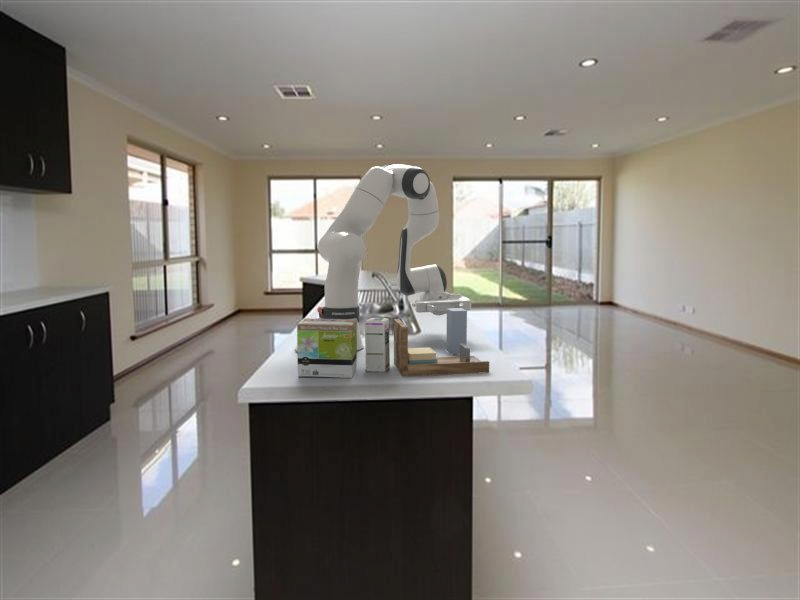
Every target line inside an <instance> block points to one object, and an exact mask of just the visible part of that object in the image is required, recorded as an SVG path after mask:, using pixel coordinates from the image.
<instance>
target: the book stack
mask: <svg viewBox="0 0 800 600" xmlns="http://www.w3.org/2000/svg"><path fill="white" fill-rule="evenodd" d="M436 357H437V352H436V351H434V350H433V349H432V348H431V347H413V348H412V347H410V348H409V347H408V364H430V363H437V360H438V359H437V358H436Z"/></svg>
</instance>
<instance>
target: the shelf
mask: <svg viewBox="0 0 800 600" xmlns="http://www.w3.org/2000/svg"><path fill="white" fill-rule="evenodd" d="M408 329H409V326H407V325H406V324H405V323H404V322H403V321H402V320H401V319H400V318H393V366H395V368H396V369H397V370H398V372H399V374H400V375H401V377H419V376H420V377H421V376H439V375H459V374H460V375H462V374H463V375H464V374H479V372H486V373H490V361H489V360H480V361H475V362H461V361H460V355H457V356H438V357H437V356H436V358H437V359H438V360H437V363H430V364H408V348H409V346H408V345H409V330H408ZM474 358H477V357H476V356H475V355H470V359H474Z"/></svg>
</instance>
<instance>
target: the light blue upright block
mask: <svg viewBox="0 0 800 600" xmlns="http://www.w3.org/2000/svg"><path fill="white" fill-rule="evenodd" d="M467 328H468V310H464V309H462V308H448V309H447V314H446V345H445V347H446V349H445V350H447V351H448V352H447V351H446V352H447V353H449V354H450V355H451V354H455V355H460V344H465V345H466V346H468V345H467V343H468V341H467V340H468V339H467V336H468V334H467V333H468V331H467V330H468V329H467Z"/></svg>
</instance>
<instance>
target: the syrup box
mask: <svg viewBox="0 0 800 600" xmlns="http://www.w3.org/2000/svg"><path fill="white" fill-rule="evenodd" d="M364 337H365V339H364V341H365V342H364V343H365V345H364V346H365V349H364V350H365V370H366V371H367V372H374V371H379V372H378V373H381V372H383V373H385V372H386V371H387V370H388V369H389V368H390V366H391V365H390V364H391V363H390V362H391V360H390V357H391V355H390V354H391V353H390V319H389V318H388V317H370V318H368V319H367V320H364Z"/></svg>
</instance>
